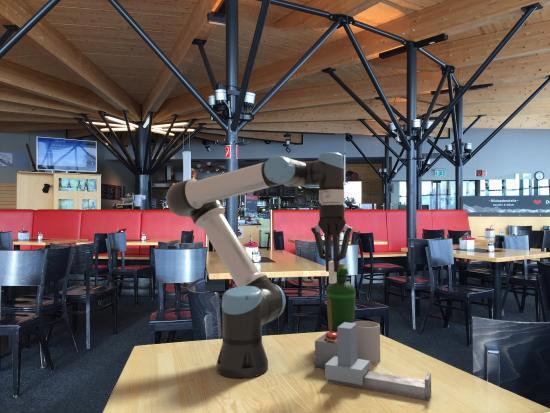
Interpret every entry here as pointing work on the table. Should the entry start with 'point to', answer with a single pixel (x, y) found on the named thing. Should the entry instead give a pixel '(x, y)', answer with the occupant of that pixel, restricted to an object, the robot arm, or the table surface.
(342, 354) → the carriage
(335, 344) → the grey cube box
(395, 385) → the rail
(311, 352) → the table surface
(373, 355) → the mug
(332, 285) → the bottle
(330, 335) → the plunger
